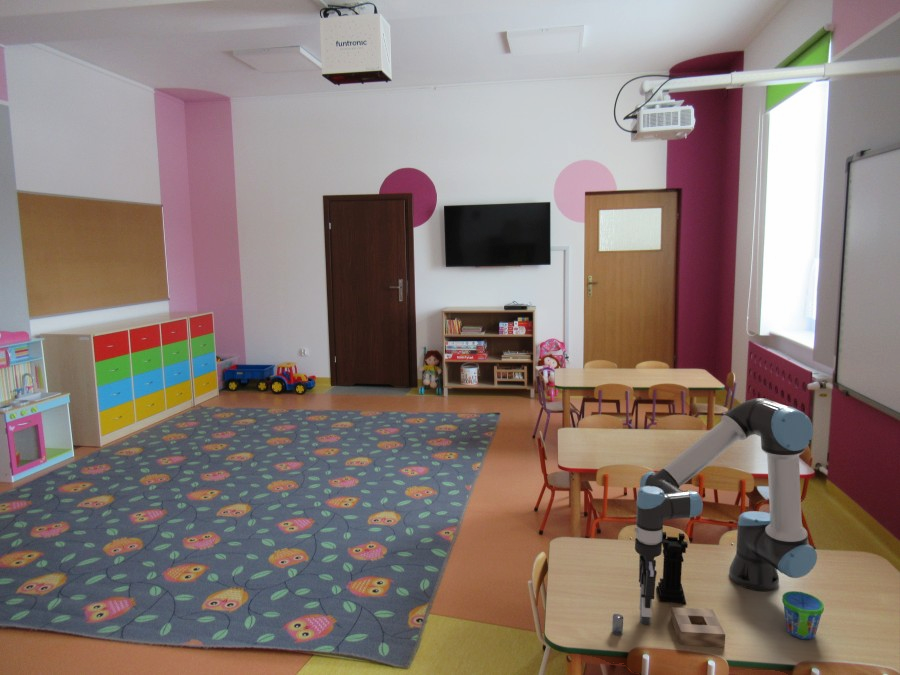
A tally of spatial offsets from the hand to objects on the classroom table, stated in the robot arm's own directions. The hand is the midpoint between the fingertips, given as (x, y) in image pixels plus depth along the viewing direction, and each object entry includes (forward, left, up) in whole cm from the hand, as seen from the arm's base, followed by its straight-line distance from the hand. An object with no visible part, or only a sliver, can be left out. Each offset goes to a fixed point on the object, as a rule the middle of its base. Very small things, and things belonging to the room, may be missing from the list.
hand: (645, 612), depth 190 cm
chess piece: (-11, -15, -3) cm, 19 cm away
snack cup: (-44, +1, -3) cm, 44 cm away
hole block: (-14, +4, -3) cm, 15 cm away
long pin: (0, 0, -3) cm, 3 cm away
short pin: (+9, +6, -3) cm, 11 cm away
